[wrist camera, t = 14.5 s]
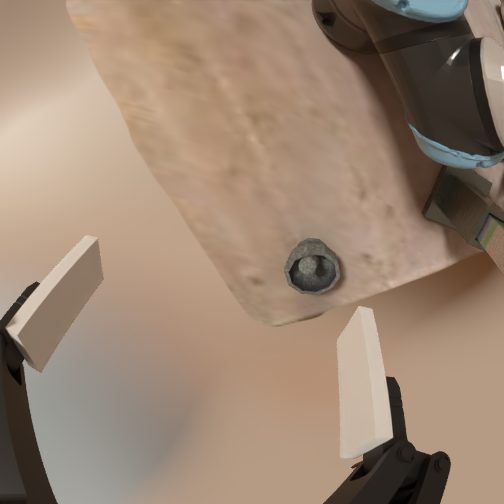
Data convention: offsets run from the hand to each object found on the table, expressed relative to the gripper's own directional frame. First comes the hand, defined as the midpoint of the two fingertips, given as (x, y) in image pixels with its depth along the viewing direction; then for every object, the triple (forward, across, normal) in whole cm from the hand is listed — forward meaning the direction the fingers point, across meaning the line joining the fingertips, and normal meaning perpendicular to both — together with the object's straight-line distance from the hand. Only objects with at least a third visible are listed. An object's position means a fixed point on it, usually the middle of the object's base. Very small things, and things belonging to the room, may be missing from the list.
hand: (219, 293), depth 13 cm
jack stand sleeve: (+37, +36, +1) cm, 51 cm away
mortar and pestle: (+37, +12, -19) cm, 43 cm away
